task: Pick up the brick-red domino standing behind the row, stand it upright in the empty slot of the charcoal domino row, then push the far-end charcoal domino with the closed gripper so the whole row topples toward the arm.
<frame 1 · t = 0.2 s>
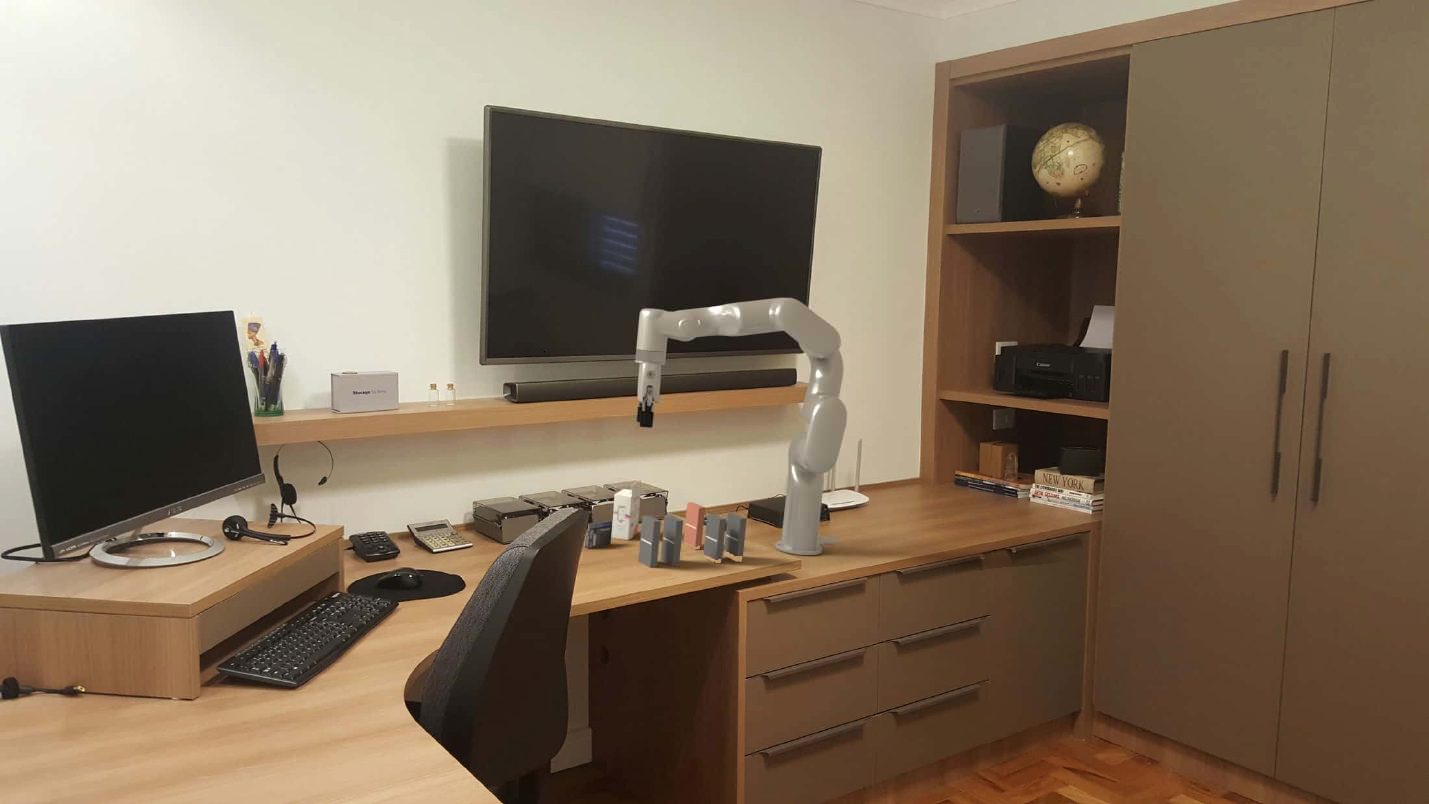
hand: (644, 424, 257), 30 cm above the table, tool pointing down, fingers open, 9 cm apart
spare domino: (692, 546, 261), on the table
domino 4: (712, 560, 249), on the table
ink cartridge box: (623, 536, 265), on the table
domino 2: (669, 562, 242), on the table
mini dv tape: (597, 547, 252), on the table
domino 1: (647, 563, 239), on the table
domino 5: (732, 559, 252), on the table
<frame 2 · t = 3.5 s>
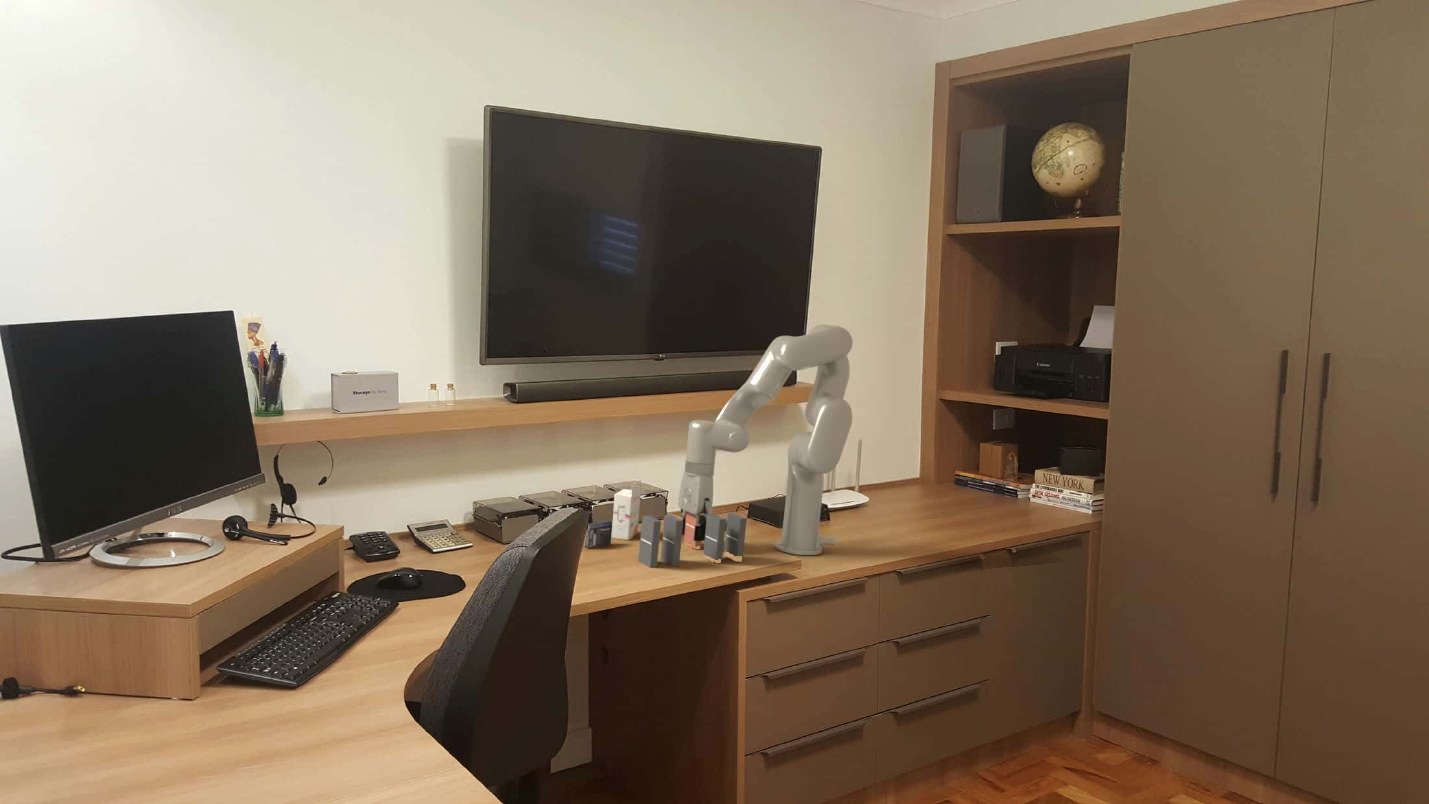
hand: (692, 536, 260), 3 cm above the table, tool pointing down, fingers closed on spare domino, 5 cm apart
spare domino: (691, 546, 261), on the table, touching gripper
everything else where it was.
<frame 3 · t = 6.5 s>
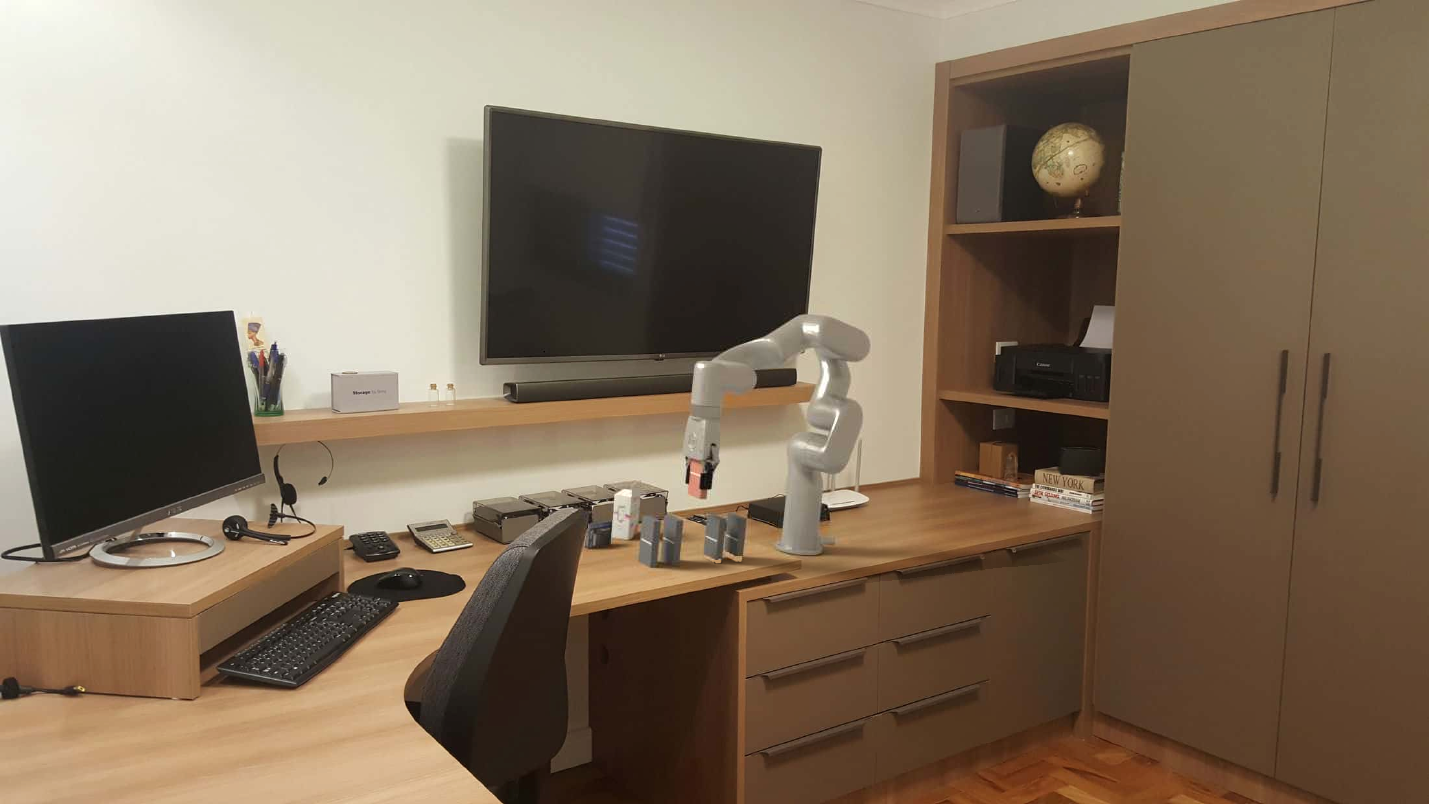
hand: (698, 485, 244), 19 cm above the table, tool pointing down, fingers closed on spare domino, 5 cm apart
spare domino: (696, 496, 244), point 16 cm above the table, touching gripper
everything else where it was.
when the fingers open (3 cm above the table, at t = 9.7 s): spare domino stays where it is, on the table.
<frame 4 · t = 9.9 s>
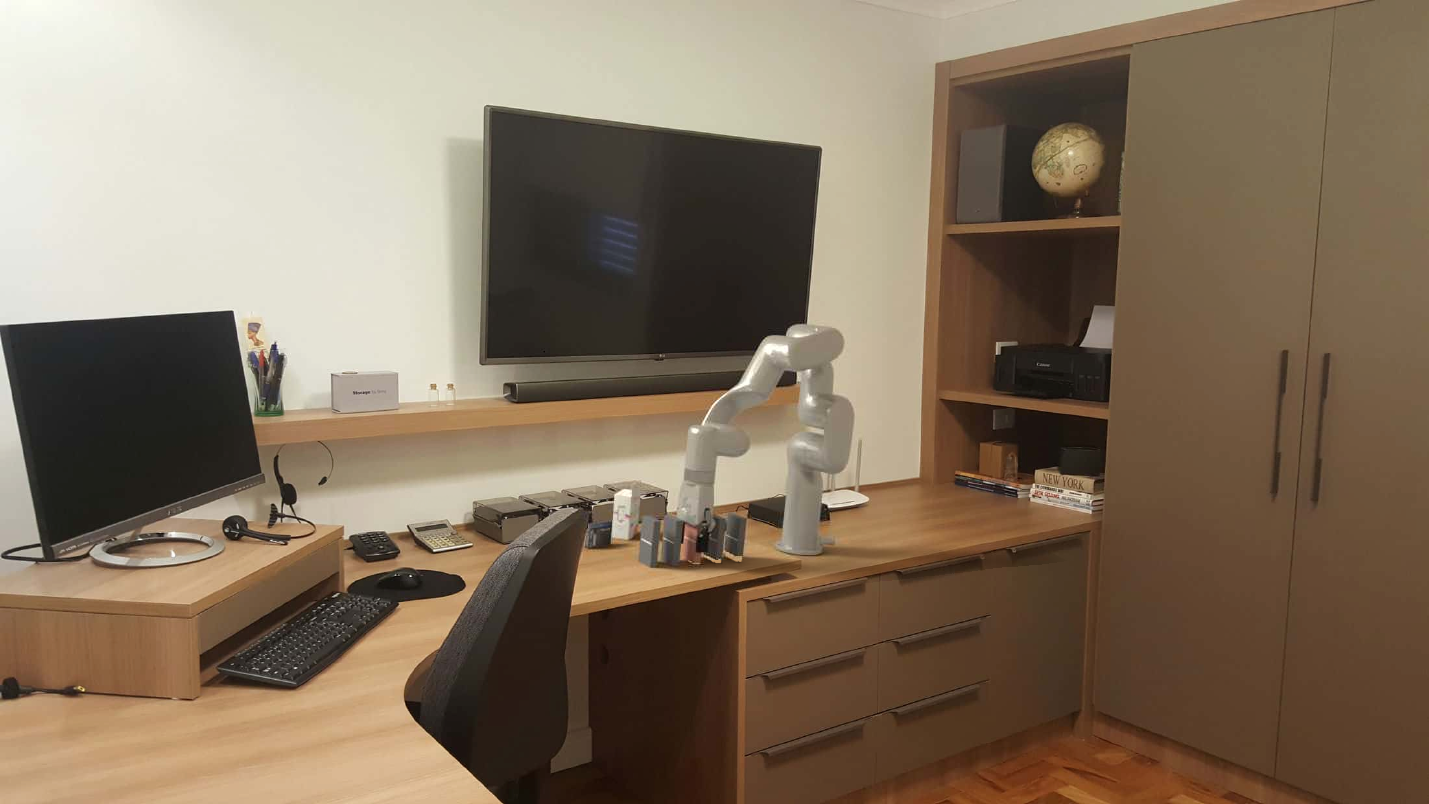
hand: (692, 547, 245), 3 cm above the table, tool pointing down, fingers open, 8 cm apart
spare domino: (691, 561, 246), on the table
everything else where it was.
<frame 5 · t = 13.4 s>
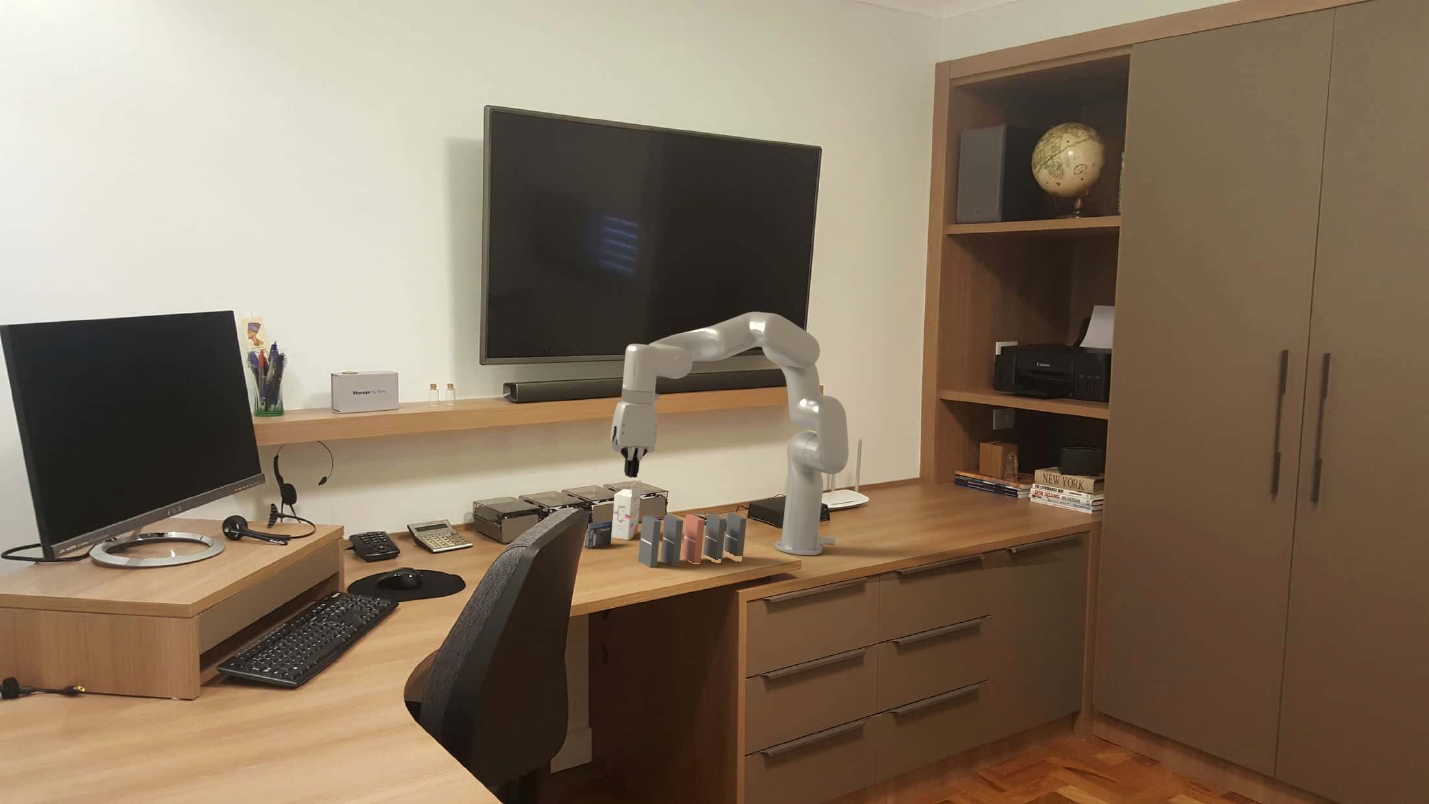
hand: (630, 476, 234), 21 cm above the table, tool pointing down, fingers closed
nothing on the table moved.
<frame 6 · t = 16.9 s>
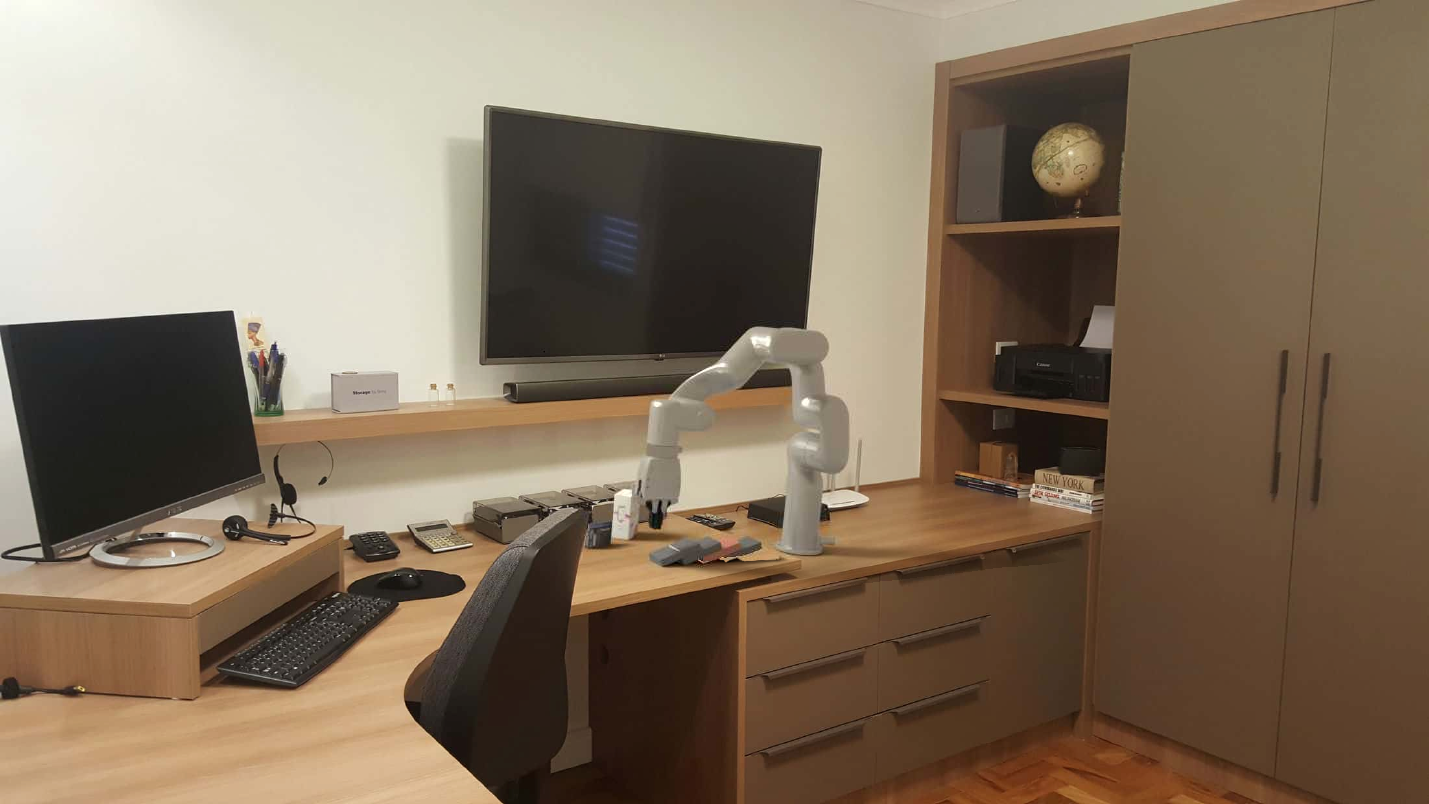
hand: (654, 528, 239), 9 cm above the table, tool pointing down, fingers closed
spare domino: (697, 557, 246), point 1 cm above the table, tilted 73°, touching domino 2, domino 4
domino 4: (718, 556, 250), point 1 cm above the table, tilted 74°, touching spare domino
domino 2: (677, 558, 243), point 1 cm above the table, tilted 71°, touching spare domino
domino 1: (655, 560, 240), point 1 cm above the table, tilted 72°
domino 5: (737, 556, 252), on the table, tilted 89°
everything else where it was.
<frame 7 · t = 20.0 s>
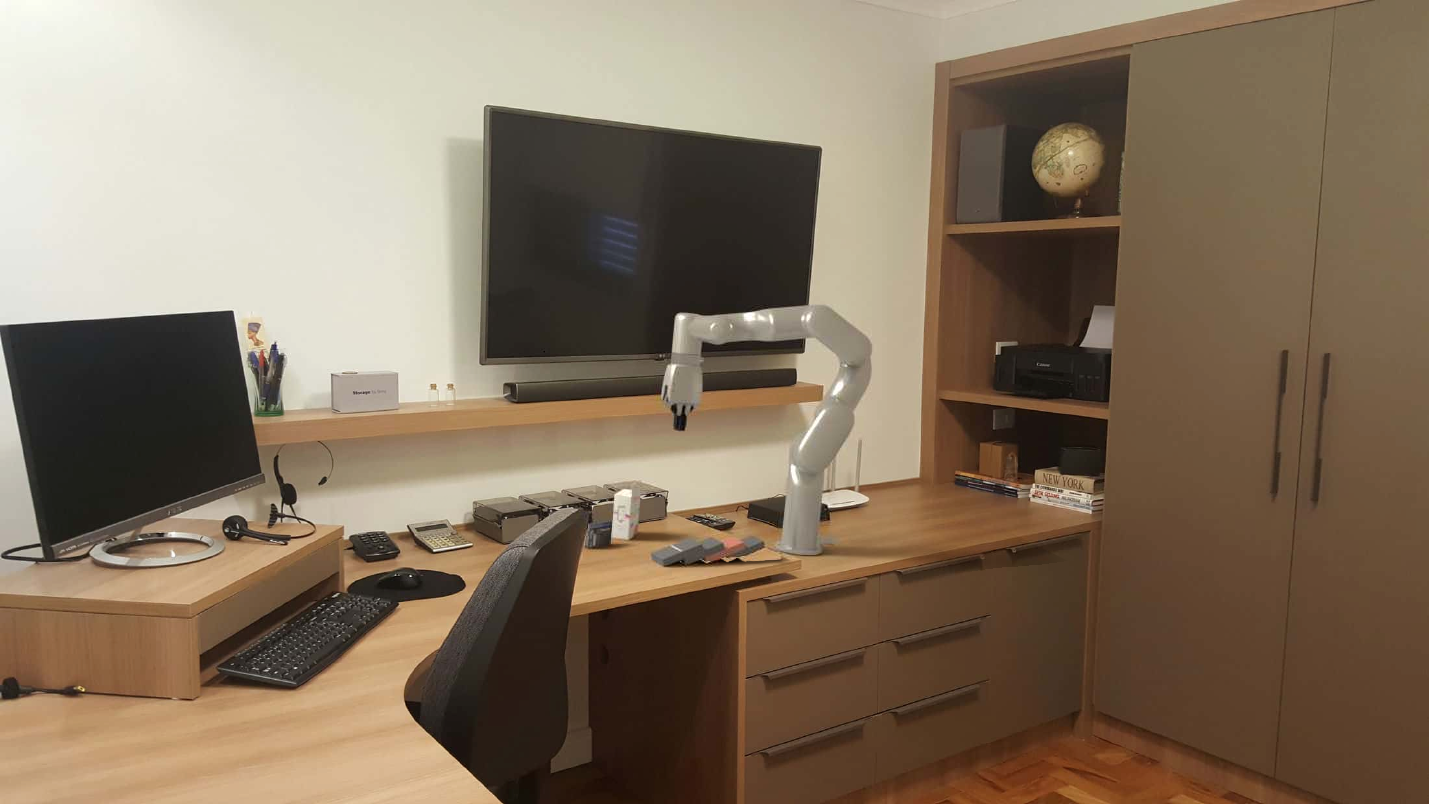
hand: (679, 430, 265), 29 cm above the table, tool pointing down, fingers closed
domino 4: (721, 556, 250), point 1 cm above the table, tilted 72°, touching domino 5, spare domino
domino 2: (679, 558, 244), point 1 cm above the table, tilted 72°, touching domino 1, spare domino
domino 1: (657, 559, 241), point 1 cm above the table, tilted 72°, touching domino 2
domino 5: (738, 555, 252), point 1 cm above the table, tilted 89°, touching domino 4
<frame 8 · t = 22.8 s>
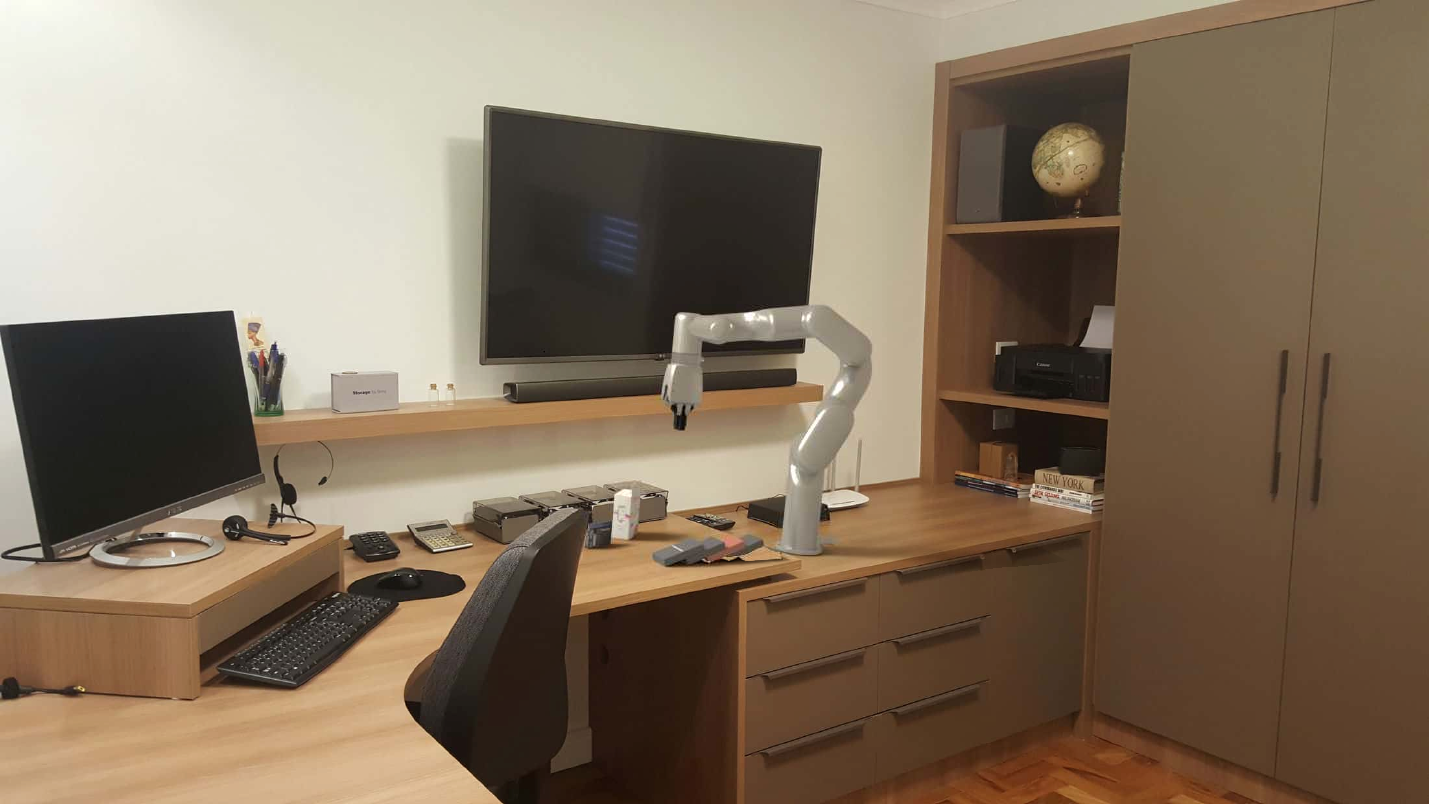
hand: (679, 429, 265), 29 cm above the table, tool pointing down, fingers closed
at the end: domino 5 tilted 89°; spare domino tilted 71°; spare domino 2.8 cm from the target spot, point 0.8 cm above the table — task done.
